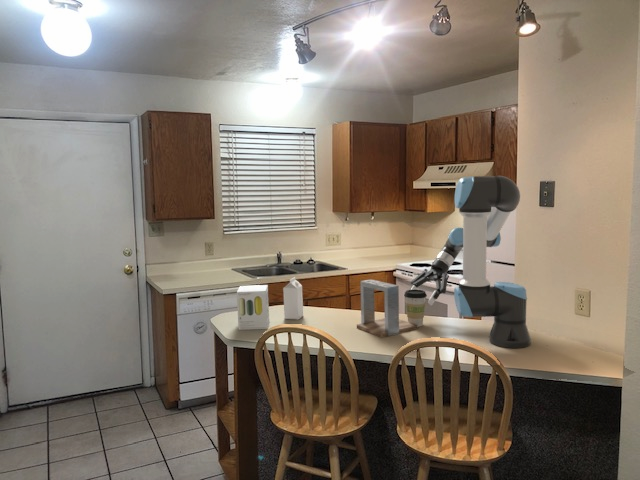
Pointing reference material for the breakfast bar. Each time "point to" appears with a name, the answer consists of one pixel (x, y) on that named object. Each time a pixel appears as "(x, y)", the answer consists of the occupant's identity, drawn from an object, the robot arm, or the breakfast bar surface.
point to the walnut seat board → (379, 327)
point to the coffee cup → (415, 306)
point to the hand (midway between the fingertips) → (418, 301)
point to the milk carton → (293, 300)
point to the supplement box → (253, 307)
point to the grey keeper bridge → (390, 304)
